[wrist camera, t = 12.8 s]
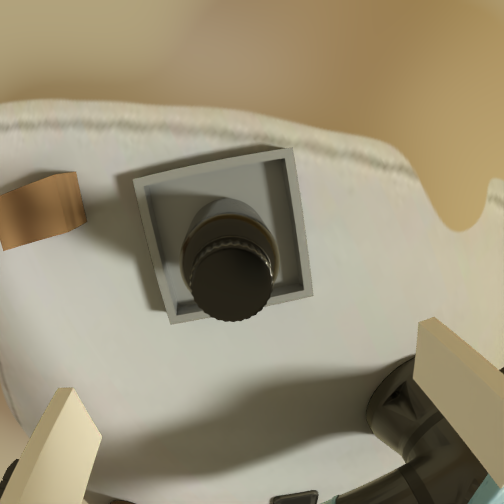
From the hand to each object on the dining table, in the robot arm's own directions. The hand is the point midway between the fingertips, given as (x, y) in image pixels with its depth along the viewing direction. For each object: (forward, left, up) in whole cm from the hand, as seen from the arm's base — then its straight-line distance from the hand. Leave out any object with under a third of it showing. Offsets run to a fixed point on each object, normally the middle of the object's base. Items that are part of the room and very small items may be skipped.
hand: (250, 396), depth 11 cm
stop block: (+17, -8, -21) cm, 28 cm away
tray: (0, -1, -21) cm, 21 cm away
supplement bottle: (0, -1, -20) cm, 20 cm away
